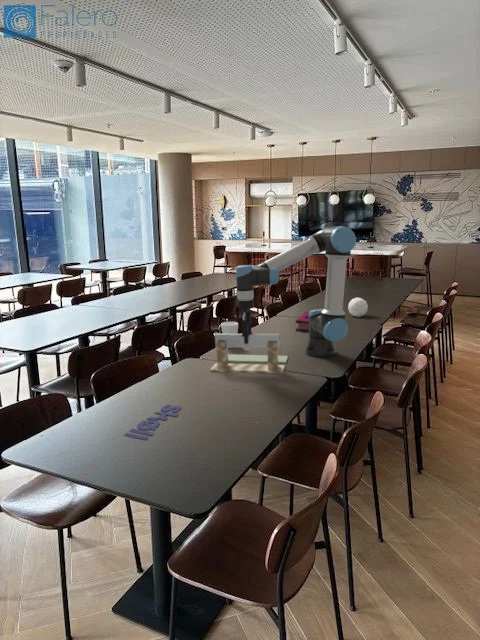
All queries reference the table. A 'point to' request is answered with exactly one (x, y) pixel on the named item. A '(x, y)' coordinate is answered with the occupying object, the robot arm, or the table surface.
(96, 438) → the table surface
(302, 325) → the book
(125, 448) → the table surface
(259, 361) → the green board
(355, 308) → the geodesic sphere
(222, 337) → the rail bar
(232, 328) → the foam cup
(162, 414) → the signage
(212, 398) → the table surface
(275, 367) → the rail stand
